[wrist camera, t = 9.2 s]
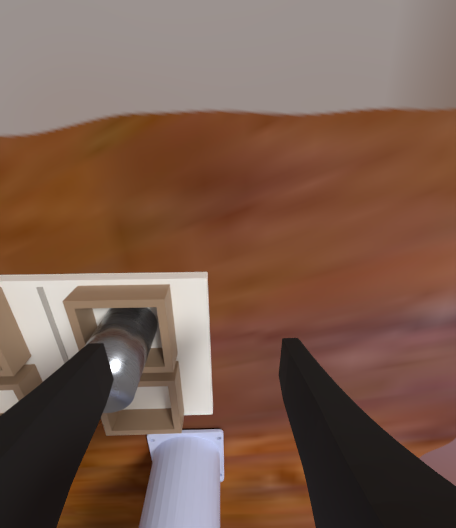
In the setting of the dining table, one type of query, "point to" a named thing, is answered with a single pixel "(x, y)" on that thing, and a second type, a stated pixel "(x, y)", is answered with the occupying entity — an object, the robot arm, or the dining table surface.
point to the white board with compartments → (84, 324)
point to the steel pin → (125, 350)
